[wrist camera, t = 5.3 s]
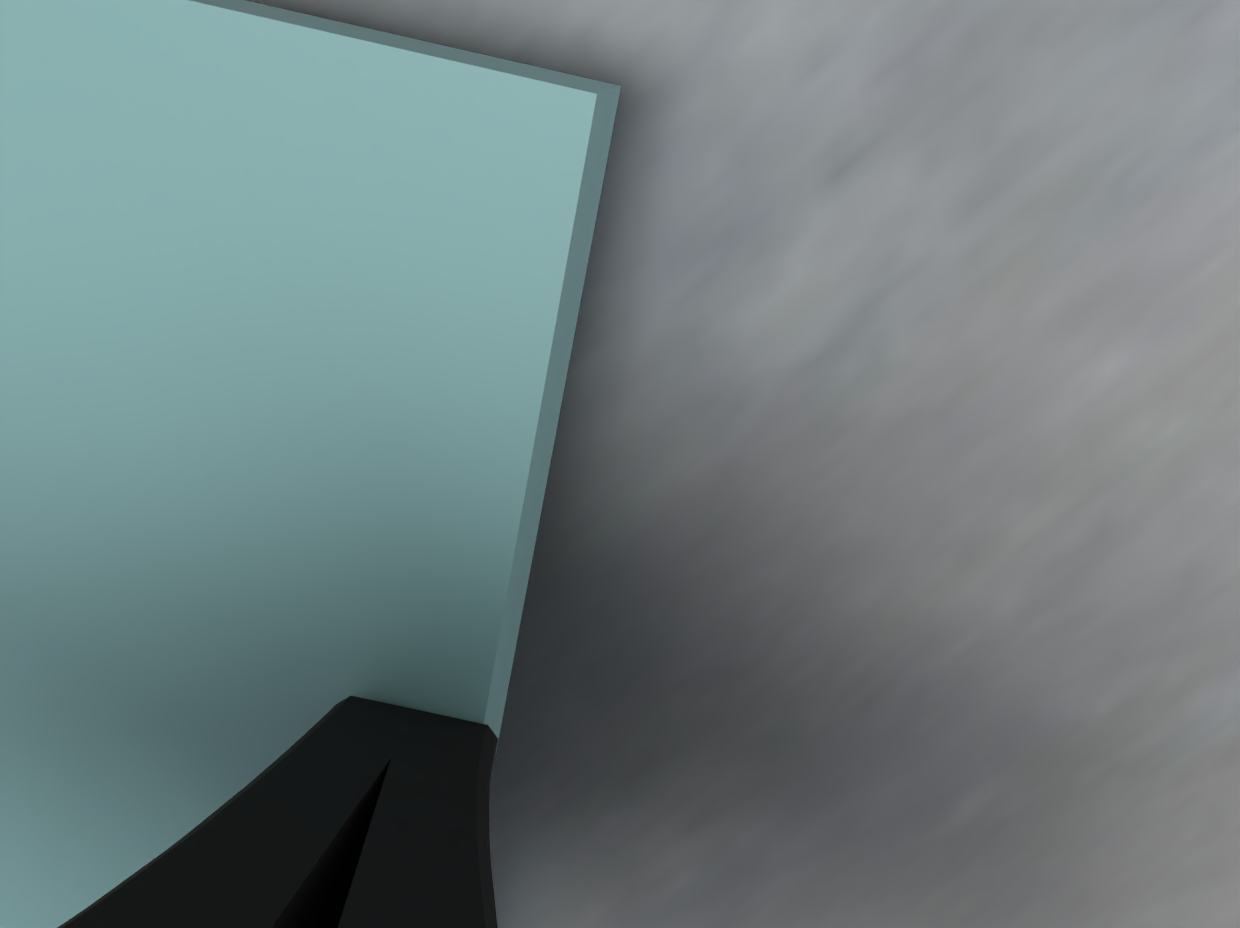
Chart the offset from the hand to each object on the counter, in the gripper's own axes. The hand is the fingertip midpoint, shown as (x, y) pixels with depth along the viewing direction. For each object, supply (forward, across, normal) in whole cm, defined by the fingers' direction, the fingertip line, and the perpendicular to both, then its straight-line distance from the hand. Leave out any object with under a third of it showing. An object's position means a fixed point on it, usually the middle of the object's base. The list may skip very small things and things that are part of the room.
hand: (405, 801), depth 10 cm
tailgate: (+1, +5, 0) cm, 5 cm away
